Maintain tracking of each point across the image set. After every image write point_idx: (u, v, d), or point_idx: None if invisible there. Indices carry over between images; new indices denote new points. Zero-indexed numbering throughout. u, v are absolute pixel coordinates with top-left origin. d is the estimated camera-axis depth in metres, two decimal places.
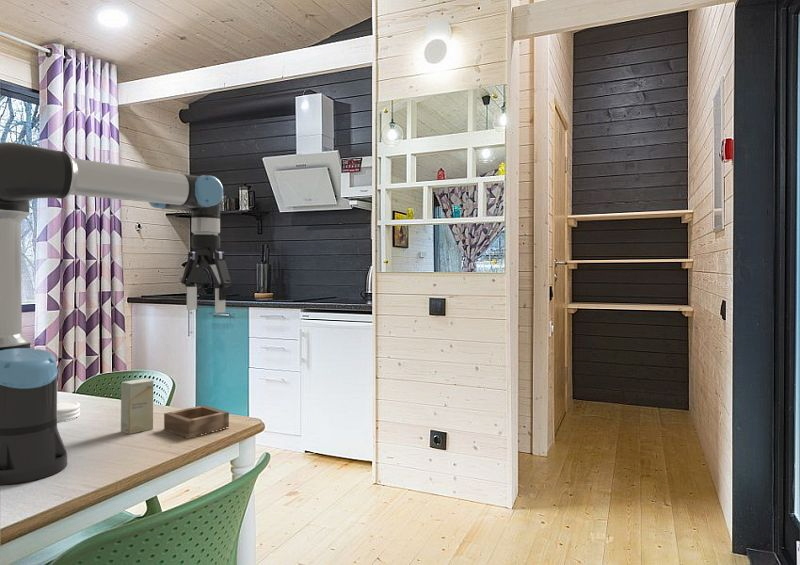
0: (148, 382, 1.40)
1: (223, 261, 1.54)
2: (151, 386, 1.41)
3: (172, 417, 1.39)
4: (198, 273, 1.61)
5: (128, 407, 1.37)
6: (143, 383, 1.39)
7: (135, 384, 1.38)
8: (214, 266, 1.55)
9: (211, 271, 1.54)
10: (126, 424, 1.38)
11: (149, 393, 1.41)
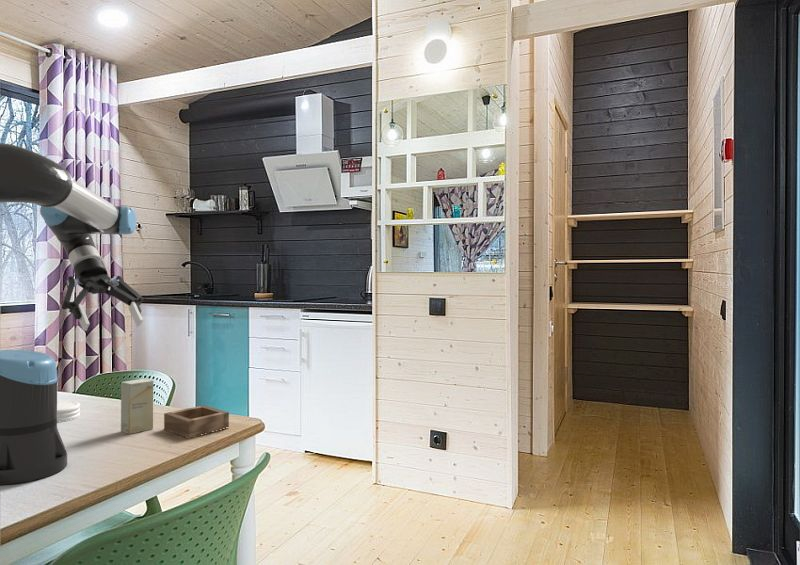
0: (148, 382, 1.40)
1: None
2: (151, 386, 1.41)
3: (172, 417, 1.39)
4: (83, 297, 1.49)
5: (128, 407, 1.37)
6: (143, 383, 1.39)
7: (135, 384, 1.38)
8: None
9: (118, 290, 1.55)
10: (126, 424, 1.38)
11: (149, 393, 1.41)
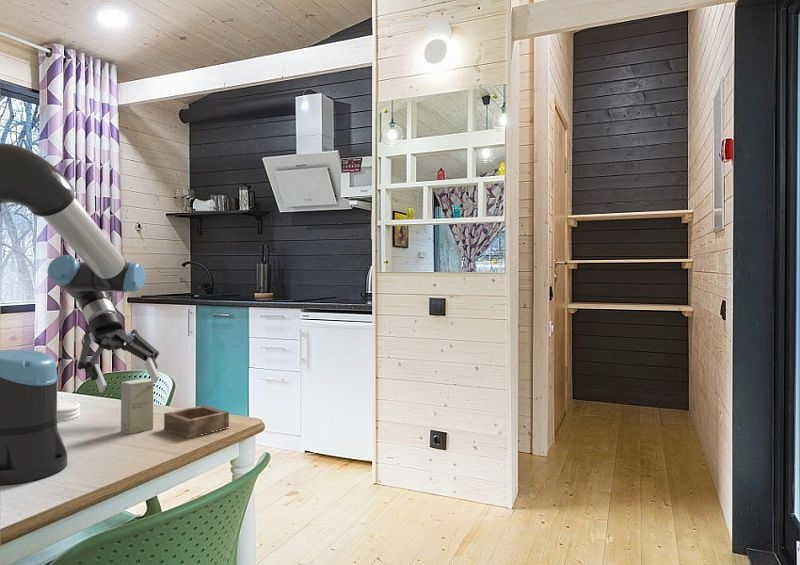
0: (148, 382, 1.40)
1: None
2: (151, 386, 1.41)
3: (172, 417, 1.39)
4: (99, 355, 1.46)
5: (128, 407, 1.37)
6: (143, 383, 1.39)
7: (135, 384, 1.38)
8: None
9: (134, 345, 1.52)
10: (126, 424, 1.38)
11: (149, 393, 1.41)
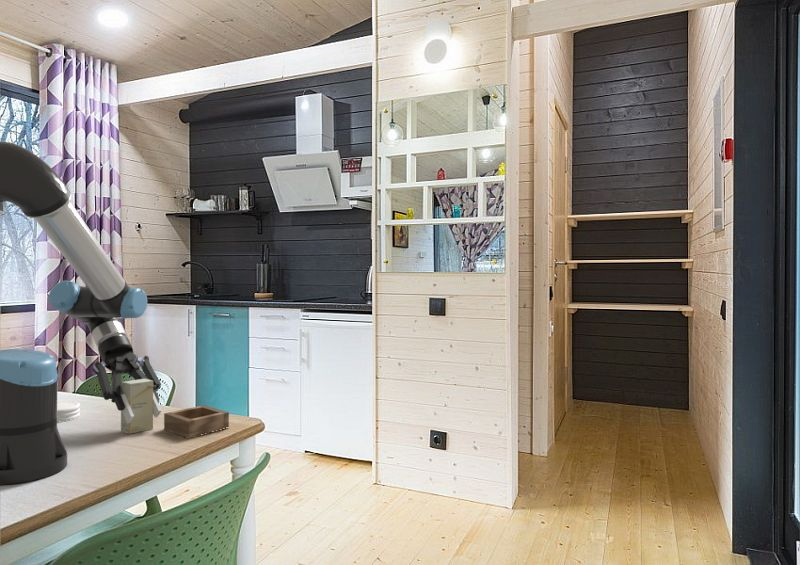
0: (148, 382, 1.40)
1: None
2: (151, 385, 1.41)
3: (172, 417, 1.39)
4: None
5: None
6: (143, 383, 1.39)
7: (135, 384, 1.38)
8: None
9: (140, 372, 1.45)
10: (126, 424, 1.38)
11: (149, 393, 1.41)
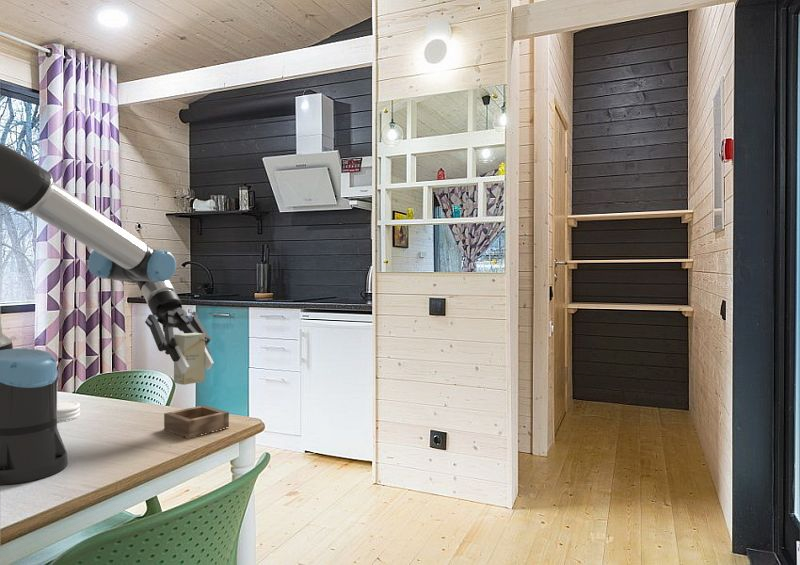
0: (200, 335, 1.42)
1: None
2: (203, 338, 1.43)
3: (172, 417, 1.39)
4: None
5: None
6: (196, 335, 1.41)
7: (189, 336, 1.40)
8: None
9: (190, 327, 1.47)
10: (180, 375, 1.40)
11: (201, 346, 1.43)
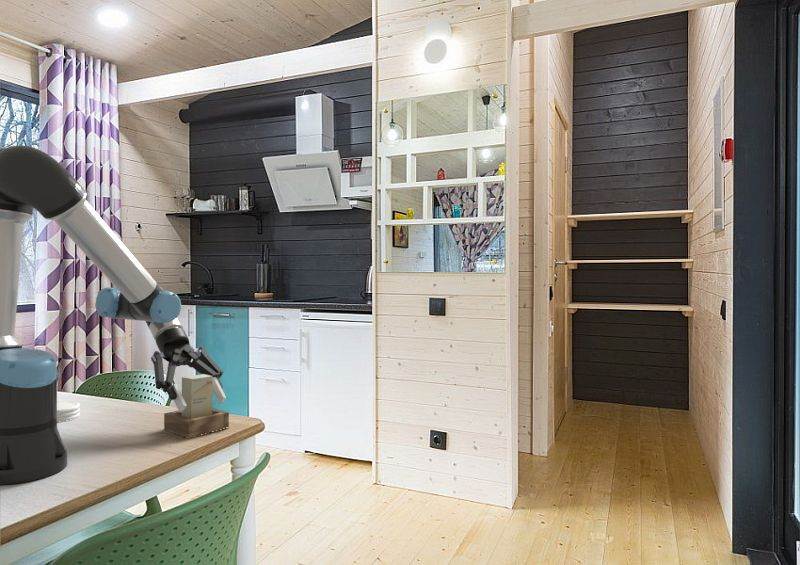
0: (208, 377, 1.42)
1: None
2: (210, 381, 1.43)
3: (172, 417, 1.39)
4: None
5: (189, 402, 1.39)
6: (203, 378, 1.41)
7: (196, 379, 1.40)
8: None
9: (200, 362, 1.47)
10: None
11: (209, 388, 1.42)
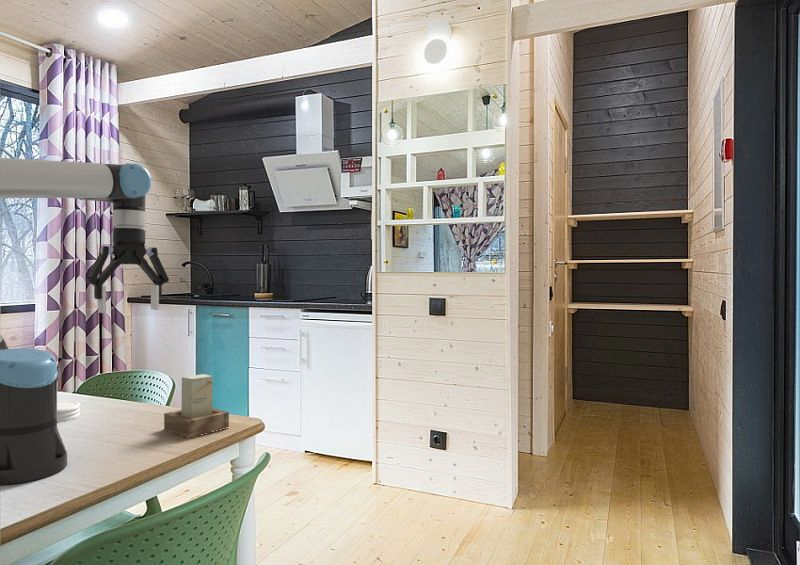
0: (208, 377, 1.42)
1: None
2: (210, 381, 1.43)
3: (172, 417, 1.39)
4: None
5: (189, 402, 1.39)
6: (203, 378, 1.41)
7: (196, 379, 1.40)
8: None
9: (148, 268, 1.49)
10: None
11: (209, 388, 1.42)
